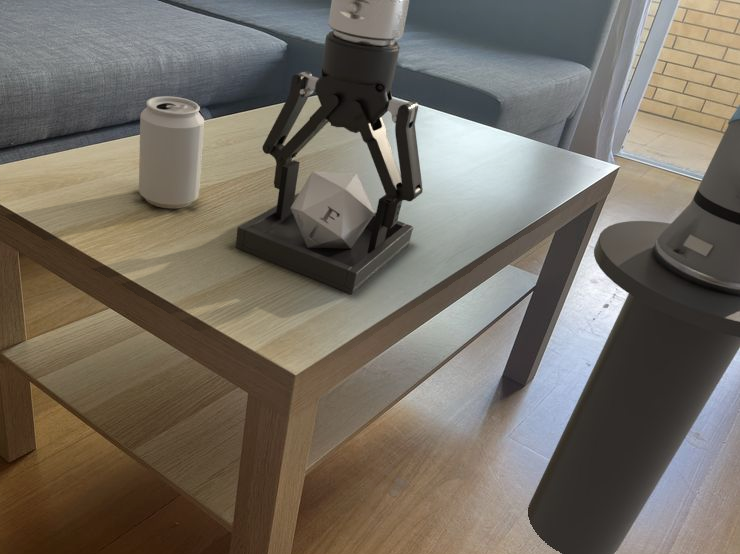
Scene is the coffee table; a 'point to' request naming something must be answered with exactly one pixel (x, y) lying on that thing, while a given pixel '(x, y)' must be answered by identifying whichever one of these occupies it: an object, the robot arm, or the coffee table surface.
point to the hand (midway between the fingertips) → (328, 232)
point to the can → (170, 151)
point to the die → (332, 210)
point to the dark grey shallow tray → (320, 250)
